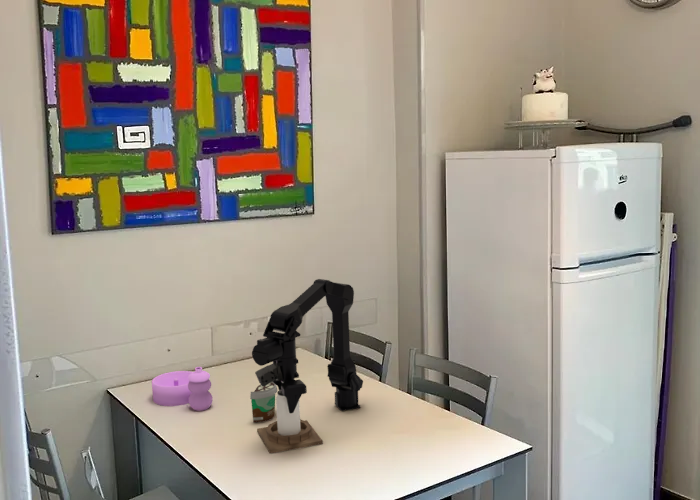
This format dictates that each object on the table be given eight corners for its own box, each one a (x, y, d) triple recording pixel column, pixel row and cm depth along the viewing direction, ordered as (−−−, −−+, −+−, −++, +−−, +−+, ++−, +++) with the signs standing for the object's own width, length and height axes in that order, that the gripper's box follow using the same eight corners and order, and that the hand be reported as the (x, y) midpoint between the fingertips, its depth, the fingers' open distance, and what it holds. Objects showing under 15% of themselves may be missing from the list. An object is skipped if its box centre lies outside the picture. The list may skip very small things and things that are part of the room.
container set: (144, 398, 232) (141, 360, 230) (183, 385, 243) (181, 348, 241) (187, 418, 215) (184, 377, 213) (227, 403, 226) (225, 364, 224)
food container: (271, 425, 208) (269, 393, 206) (251, 424, 209) (249, 392, 208) (283, 409, 220) (282, 378, 218) (264, 408, 221) (263, 377, 219)
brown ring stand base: (306, 423, 209) (306, 413, 208) (322, 443, 195) (322, 433, 195) (257, 431, 204) (256, 422, 203) (269, 453, 190) (269, 443, 190)
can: (304, 428, 201) (302, 388, 199) (295, 438, 195) (293, 397, 193) (283, 426, 203) (281, 386, 201) (274, 435, 197) (271, 395, 195)
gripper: (249, 349, 201) (252, 401, 204) (265, 369, 184) (268, 426, 187) (287, 344, 205) (289, 395, 208) (306, 363, 188) (308, 419, 190)
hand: (288, 408), depth 198 cm, fingers closed on can, 6 cm apart
